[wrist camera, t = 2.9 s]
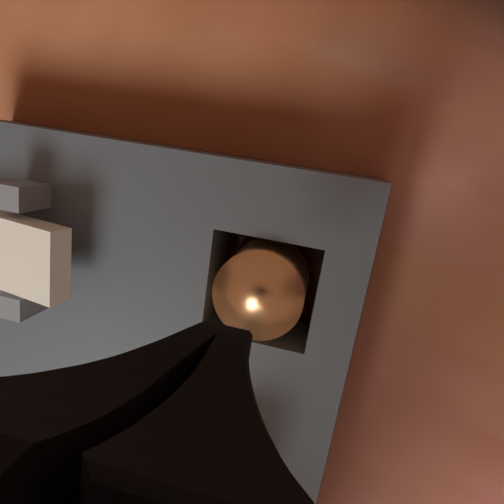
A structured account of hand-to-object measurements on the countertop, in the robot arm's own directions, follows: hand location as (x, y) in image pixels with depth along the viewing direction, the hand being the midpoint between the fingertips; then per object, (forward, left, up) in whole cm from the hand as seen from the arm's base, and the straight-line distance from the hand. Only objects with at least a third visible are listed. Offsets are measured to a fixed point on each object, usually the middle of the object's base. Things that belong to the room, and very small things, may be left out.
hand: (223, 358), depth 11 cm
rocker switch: (0, +10, -4) cm, 11 cm away
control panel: (-4, +5, -8) cm, 11 cm away
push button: (0, 0, -8) cm, 8 cm away
